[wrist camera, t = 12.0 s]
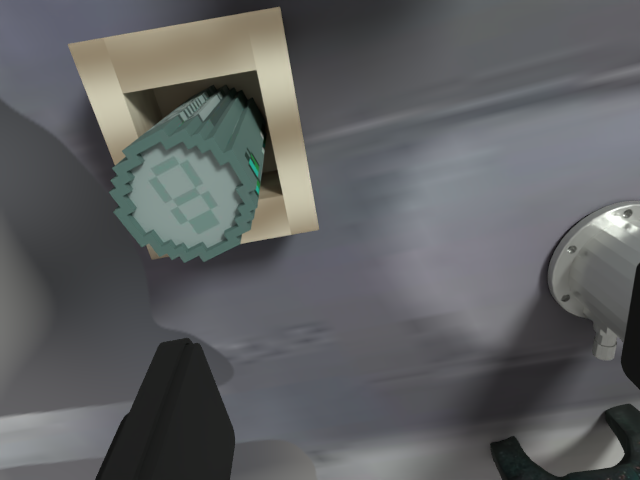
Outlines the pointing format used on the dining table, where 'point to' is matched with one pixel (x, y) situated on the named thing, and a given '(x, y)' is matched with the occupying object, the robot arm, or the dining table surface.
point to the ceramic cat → (627, 476)
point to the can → (194, 176)
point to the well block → (195, 76)
